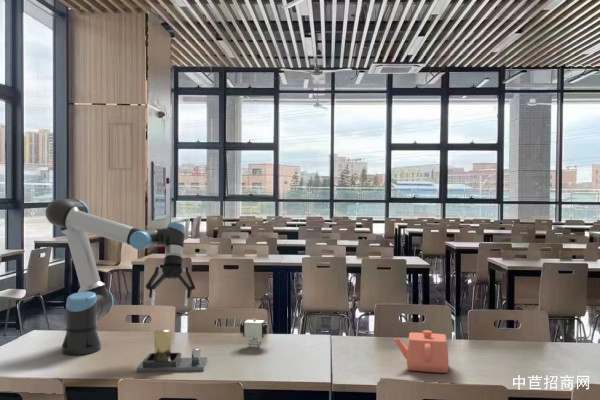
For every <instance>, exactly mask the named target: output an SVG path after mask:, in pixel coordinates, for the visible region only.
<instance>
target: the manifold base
mask: <svg viewBox="0 0 600 400" xmlns="http://www.w3.org/2000/svg"><path fill="white" fill-rule="evenodd" d="M207 363H208V356H207V357H205V356H203V357H201V348H200V347H193V348H191V357H182V353H181V352H171V361H154V352H151V353H148V355H147V356H146V357H145V358H144V359H142V361H141V362H140V363H139V365H138V366H137V367H136V373H162V372H169V373H170V372H172V373H173V372H174V373H175V372H204V370H205V368H206V365H207Z"/></svg>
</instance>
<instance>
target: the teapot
mask: <svg viewBox="0 0 600 400" xmlns="http://www.w3.org/2000/svg"><path fill="white" fill-rule="evenodd" d="M408 335H409V336H408V341H407V345H406V344H405V343H404V342H403V341H402V340H401V339H400V337H397V338H393V341H394V343H395V344H396V346H397V347H398V348H399V351H400V352H401V353H402V356H403V357H404V359H405V360H406V367H407V370H408V371H413V372H424V373H441V374H443V373H444V374H447V373H448V370H449V348H448V342H447V335H446V334H443V333H433V331H432V330H428V329H427V330H422V332H412V331H411V332H409V334H408Z"/></svg>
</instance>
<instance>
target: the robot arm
mask: <svg viewBox="0 0 600 400" xmlns="http://www.w3.org/2000/svg"><path fill="white" fill-rule="evenodd" d="M45 218H46V220H47V221H48V222H49V223H50V224H51V225H53V226H56V227H59V229H60V232H61V233H62V234H64V235H66V239H67V244H68V247H69V250H70V251H69V252H70V253H71V258H72V262H73V265H74V269H75V271H76V273H75V274H76V276H77V279H78V282H79V289H78V291H77V292H74V293H72V294H70V295H68V296H67V298H66V304H65V311H66V312H65V316H66V317H65V318H66V320H65V323H66V326H65V327H66V329H65V330H66V332H65V333H66V334H65V336H64V338H63V342H62V345H61V353H62V354H63V355H69V356H79V355H81V356H82V355H88V354H93V353H96V352H98V351H100V350H101V349H102V348H101V346H102V344H101V342H102V341H101V340H100V336H99V334H98V330H97V319H99V318H102V317H104V316H106V315H107V314H109V312H110V311H111V310H112V309H113V307H114V302H115V299H114V295H113V294H112V292H111V291H109V290H108V289H107V287H106V286H107V285H106V283H105V282H103V281H101V277H100V275H99V270H98V268H97V263H96V260H95V257H94V253H93V249H92V245H91V242H90V239H89V234H88V233H90V234H92V235H96V236H99V237H103V238H106V239H109V240H111V241H115V242H118V243H122V244H124V245H125V244H126V245H129V246H131V247H132V248H134V249H136V250H145V249H148V248H151V247H161V246H165V251H164V256H165V257H164V258H163V259H164V260H163V267H158V266H156V267H155V270H154V272H153V275H151V277H150V279H149V280H148V282H147V283H146V285H145V288H146V290H148V291H149V295H148V297H149V299H150V300H151V301H150V306H151V307H155V306H154V305H155V299H156V298H155V297H156V290H155V289H156V288H157V287H159V286H160V284H161V283H162V282H164V281H165V280H166V279H170V280H171V279H174V280H176V279H178V280H179V281H180V283H182V285H183V286H184V287H185V288H186V289H185V293H184V294H185V295H184V303H183V304H184V307H186V308H187V307H188V301H189V300H188V299H191V293H192V291H195V290H196V286H195V283H194V281H193V279H192V277H191V275H190V268H189V267H187V266H186V267H184V268H183V267H182V266H183V255H184V243H185V236H186V234H185V232H186V231H185V230H186V227H185V225H184V224H183V223H181V222H177V221H172V222H169V223H168V224H167V227H165V228H164V227H163V228H145V229H140V228H138V227H134V226H131V225H128V224H124V223H122V222H117V221H115V220H112V219H111V220H110V219H108V218H104V217H101V216H99V215H94V214H91V213H90V209H89V207H88V205H87V204H86V202H84V201H83V200H80V199H77V198H56V199H54V200H52V201H51V202H49V203H48V205H47V206H46V208H45ZM161 272H162V274H161V276H160V277H159V278H158V276H159V274H160V273H161ZM182 273H184V274H185V275H186V277H187V279H188V282H189V283H187V282H186V280H185V279H184V277H183V276H182V275H181V274H182ZM157 278H158V279H157ZM156 279H157V280H156ZM189 284H190V285H189Z"/></svg>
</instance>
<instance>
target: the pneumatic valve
mask: <svg viewBox="0 0 600 400" xmlns="http://www.w3.org/2000/svg"><path fill="white" fill-rule="evenodd" d="M239 332H240V334H242V337H245V338H247V337H248V338H250V339H248V340H247V346H248V347H249V348H255V349H256V348H259V347H260V346H261V345H262V340H261V339H260V338H265V337H266V336H267V335H269V332H270V325H269V324H268V323H267V320H262V319H261V320H260V319H256V318H253V319H245V320H244V321H242V322H241V323H240V326H239Z"/></svg>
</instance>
